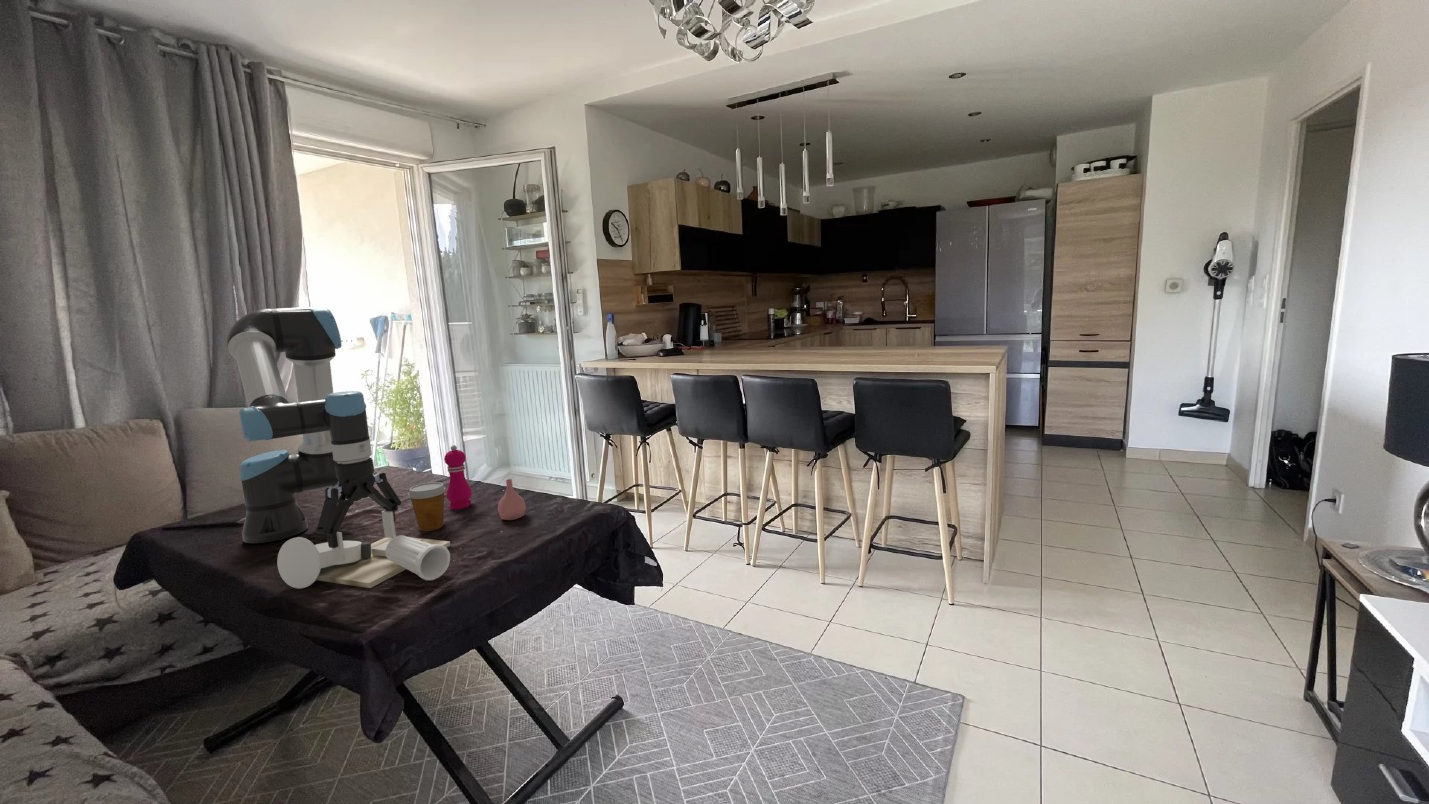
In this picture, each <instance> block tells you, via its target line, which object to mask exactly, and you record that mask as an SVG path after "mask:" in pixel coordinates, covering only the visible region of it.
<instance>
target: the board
mask: <svg viewBox="0 0 1429 804" xmlns="http://www.w3.org/2000/svg"><path fill="white" fill-rule="evenodd" d="M397 536H398V535H396V537H397ZM408 537H409V538H413V536H412V537H411V536H408ZM415 538H416V539H422V541H423V542H426V543H429V544H436V545H443V546H444V547H446V548H447V549H448V548H449V547H451V541H448V540H437V539H429V538H419V537H415ZM392 539H393V538H387V537H383V538H381V539H378V540H377V541H375V542H371V557H370V558H365V559H362V558H361V559H360V561H359V562H357V563H354V564H347V565H345V564H340V565H334V567H333V568H330V569H320V573H319V575H318V577H317V579H316V580H315V581H320V582H327V583H333V584H339V585H346V586H353V587H359V588H367V589H372V588H373V587H375V586H377V585H379V584H380V583H383V582H384V581H387V580H388V579H390V578H392V577H394V576H396V575H398V574H400V573H402V572H404V571H405V570H407V569H406V568H404V567H402V566H400V565H398V564H396V563H394V562H392V561H390V560H388V558H387V557H386V556H378V555H372V548H374V547H376V546H378V545H381V544H383V543H385V542H387V541H390V540H392ZM328 567H329V566H328Z"/></svg>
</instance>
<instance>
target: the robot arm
mask: <svg viewBox="0 0 1429 804" xmlns="http://www.w3.org/2000/svg"><path fill="white" fill-rule="evenodd" d="M226 343H227V344H226V345H227V349H228V352H229V354H230V356H231V357H232V358H233V359H235V360H236V364H237V368H238V372H239V376H240V380H241V385H242V389H243V392H244V396H245V401H246V404H247V407H244V408H241V409H240V410H239V412H238V414H239V421H240V426H241V431H242V436H243V438H244V439H245V440H246V441H247V442H252V441H253V442H256V441H269V440H274V439H280V438H281V439H282V438H287V437H293V436H300V435H302V442H300V444H299V445H298V447H297V452H296V453H291V454H290V452H289V450H287V449H279V450H272V451H268V452H267V451H266V452H264V453H260V454H258V455H254V456H251V457H249V458H246V459H244V460H243V461H242V462H241V463H240V464H239V467H238V469H239V481H240V483H241V487H242V488H241V489H242V494H243V500H244V507H245V510H246V511H245V512H246V514H245V519H244V522H243V527H242V531H241V537H242V541H243V542H244V543H247V544H261V543H270V542H271V543H272V542H275V541H281V540H284V539H287V538H291V537H293V536H296V535H298V534H301V533H303V532H305V531H306V530H307V529H308V528H309V525H308V519H307V517H306V516H305V514H304V513H303V511H302V510H301V507H300V506H299V504H298V501H297V497H296V495H297V494H302V493H306V492H312V491H317V490H322V489H325V490H324V494H325V495H324V502H323V506H322V508H321V514H320V517H319V520H318V523H317V528H316V533H317V534H322V535H326V538H327V542H328V546H329V547H330V548H332V552H333V559H334V560H337V561H344V560H346V558H345V552H344V545H343V541H344V540H343V533H342V532H341V531H339V529H340V527H341V526H342V523H343V522H344V519H345V518H346V516H347V513H348V511H349V510H350V507H351V506H353V505H354V503H355V502H358V501H361V500H362V499H366V498H368V497H369V498H370V499H371V500H372V501H373V502H375V504H377V505H378V506H380V507H381V508H382V509H383V510H382V511H381V518H382V519H381V520H382V525H383V532H384V533H383V534H384V538H386V537H387V538H394V537H396V536H397V534H396V528H395V523H396V522H397V521H396V513H395V511H397V510H398V509H399V507H400V506H401V504H402V500H401V499H400V498H399V496H398V494H397V493H396V491H395V490H394V489H393V487H392V486H391V484H390V482H389V481H388V479H387V474H386V472H378V471H377V472H376V471H375V466H374V459H373V458H372V457H371V456H372V455H373V452H372V445H371V444H372V443H371V439H370V433H369V432H370V431H369V425H368V418H367V417H368V416H367V404H366V403H365V398H364V394H363V393H362V392H361V391H358V390H348V391H336V392H334V388H333V387H334V386H333V377H332V367H331V361H332V360H333V359H334V358H335V357H337V356H336V354H337V353H336V350H339V349H341V348H342V346H343V345H342V338H341V334H340V330H339V327H338V323H337V321H336V319H335V316H334V315H333V312H332V311H331V310H330V309H329V308H326V307H313V306H305V307H303V306H302V307H283V308H281V307H280V308H279V307H278V308H261V309H257V310H253V311H251V312H248V313H247V314H245V315H243V316H242V317H240V318H239V319H238V320H237V321H235V322H234V324H233V325H232V327H231V328H230V330H229V332H228V335H227V340H226ZM275 353H285V359H287V360H288V361H289V362H291V363H292V364H293V370H294V377H295V385H296V387H295V388H296V393H297V401H293V402H289V398H288V396H287V393H286V390H285V386H284V383H283V380H282V376H281V373H280V370H279V367H278V364H277V361H276V357H275V355H274V354H275ZM375 484H376V486H377V487H378V488H379V490H380V491H381V493H380V492H379V490H378V489H377V488H375V487H374V485H375ZM382 494H383V495H382ZM398 506H399V507H398Z"/></svg>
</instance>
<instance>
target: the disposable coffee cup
mask: <svg viewBox="0 0 1429 804" xmlns="http://www.w3.org/2000/svg"><path fill="white" fill-rule="evenodd" d="M445 490H446V487H445V485H444V483H443V482H438V481H437V482H436V481H432V482H424V483H419V484H417V485H413V486H411V487H410V488H409V491H408V493H407V495H408V497H409V498H410V501H411V505H412V508H413V512H414V517H415V518H416V522H417V527H418V530H419V531H421V532H430V531H435V530H439V529H440V528H443V526H444V524H445V523H444V517H445V516H444V512H445V511H444V510H445V492H446V491H445Z"/></svg>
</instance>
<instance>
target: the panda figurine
mask: <svg viewBox="0 0 1429 804" xmlns="http://www.w3.org/2000/svg"><path fill="white" fill-rule="evenodd" d="M371 544H372V542H370V541H365V542H362V541H357V540H343V545H344V552H345V558H346V560H344V561H337V560H334V559H333V552H332V548H330V547H329V546H328V541H327V542H322V543H316V544H314V543H313V542H312V540H309V539H308V538H305V537H302V536H297V537H292V538H290V539H288V540H287V541H285V542H284V543H283V544H282V545H281V547H280V549H279V552H278V553H277V558H276V559H277V562H276V564H277V569H278V570H277V571H278V573H279V575H280V578H281V579H282V580H283V582H284V583H286V585H288V586H289V587H292V588H294V589H304V588H307V587H309V586H311V585H313V584H314V582H316V581H317V580H316V579H317V577H318V575H319V573H320V569H330V568H333V567H334V565H340V564H345V565H347V564H354V563H357V562H359V561H360V559H361V558H362V559H365V558H370V557H371ZM328 566H329V567H328Z"/></svg>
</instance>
